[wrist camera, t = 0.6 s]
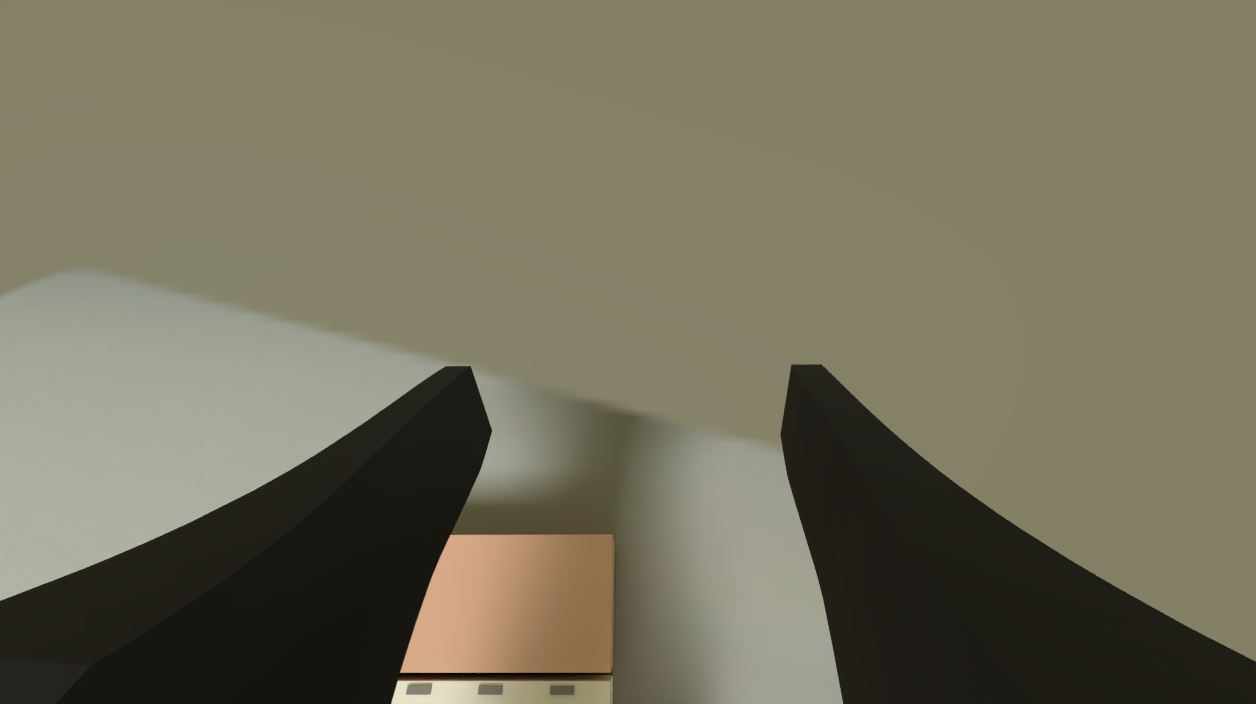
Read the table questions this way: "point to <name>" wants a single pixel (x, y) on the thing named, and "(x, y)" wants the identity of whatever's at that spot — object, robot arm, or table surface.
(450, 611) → the block
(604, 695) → the board
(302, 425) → the table surface
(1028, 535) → the robot arm
